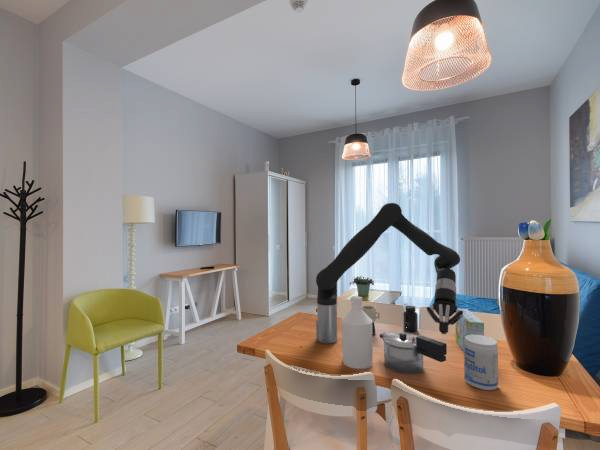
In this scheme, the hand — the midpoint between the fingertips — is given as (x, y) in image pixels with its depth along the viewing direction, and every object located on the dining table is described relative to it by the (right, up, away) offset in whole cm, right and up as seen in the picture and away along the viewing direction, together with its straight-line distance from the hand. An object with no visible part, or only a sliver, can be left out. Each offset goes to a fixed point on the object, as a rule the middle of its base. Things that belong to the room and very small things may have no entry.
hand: (443, 333), depth 105 cm
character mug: (-18, -15, +39) cm, 46 cm away
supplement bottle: (+4, -15, +43) cm, 45 cm away
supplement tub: (+8, -14, -9) cm, 18 cm away
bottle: (-29, -15, +8) cm, 34 cm away
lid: (-10, -5, +1) cm, 12 cm away
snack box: (+20, -14, +18) cm, 30 cm away
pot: (-11, -14, +3) cm, 18 cm away
